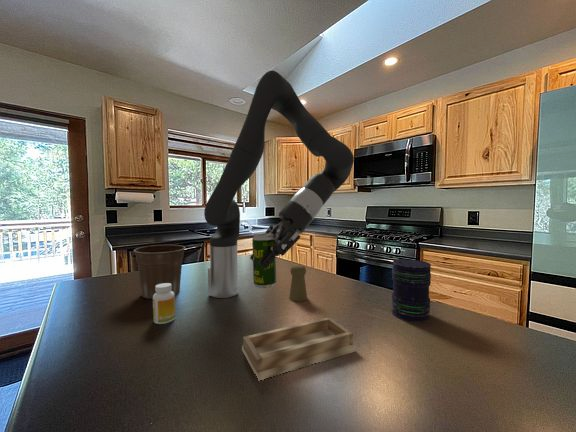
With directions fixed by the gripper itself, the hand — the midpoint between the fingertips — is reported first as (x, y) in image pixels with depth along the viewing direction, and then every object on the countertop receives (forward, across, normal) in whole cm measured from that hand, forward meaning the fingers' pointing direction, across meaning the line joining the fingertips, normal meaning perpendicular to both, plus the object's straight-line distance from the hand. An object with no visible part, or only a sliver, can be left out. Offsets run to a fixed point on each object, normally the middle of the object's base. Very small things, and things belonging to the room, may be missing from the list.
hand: (257, 263), depth 61 cm
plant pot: (+27, -44, -2) cm, 52 cm away
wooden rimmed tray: (+9, +9, +17) cm, 21 cm away
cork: (-2, -19, +27) cm, 33 cm away
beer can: (+3, 0, +5) cm, 6 cm away
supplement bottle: (+27, -21, -2) cm, 34 cm away
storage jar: (-17, +7, +44) cm, 47 cm away
